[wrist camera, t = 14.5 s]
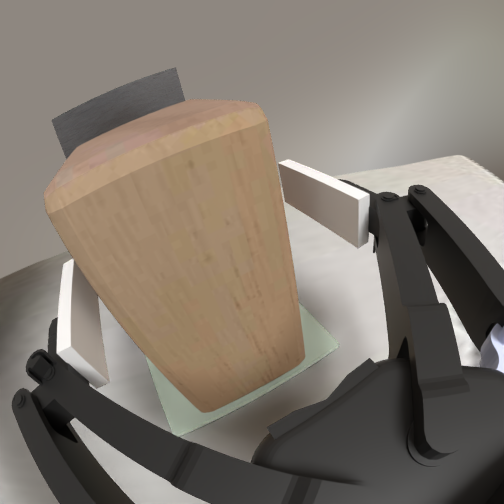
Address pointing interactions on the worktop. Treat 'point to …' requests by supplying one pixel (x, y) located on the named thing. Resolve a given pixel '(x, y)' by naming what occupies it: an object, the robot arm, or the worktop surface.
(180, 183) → the wooden block
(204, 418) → the mat
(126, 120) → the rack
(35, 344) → the worktop surface
